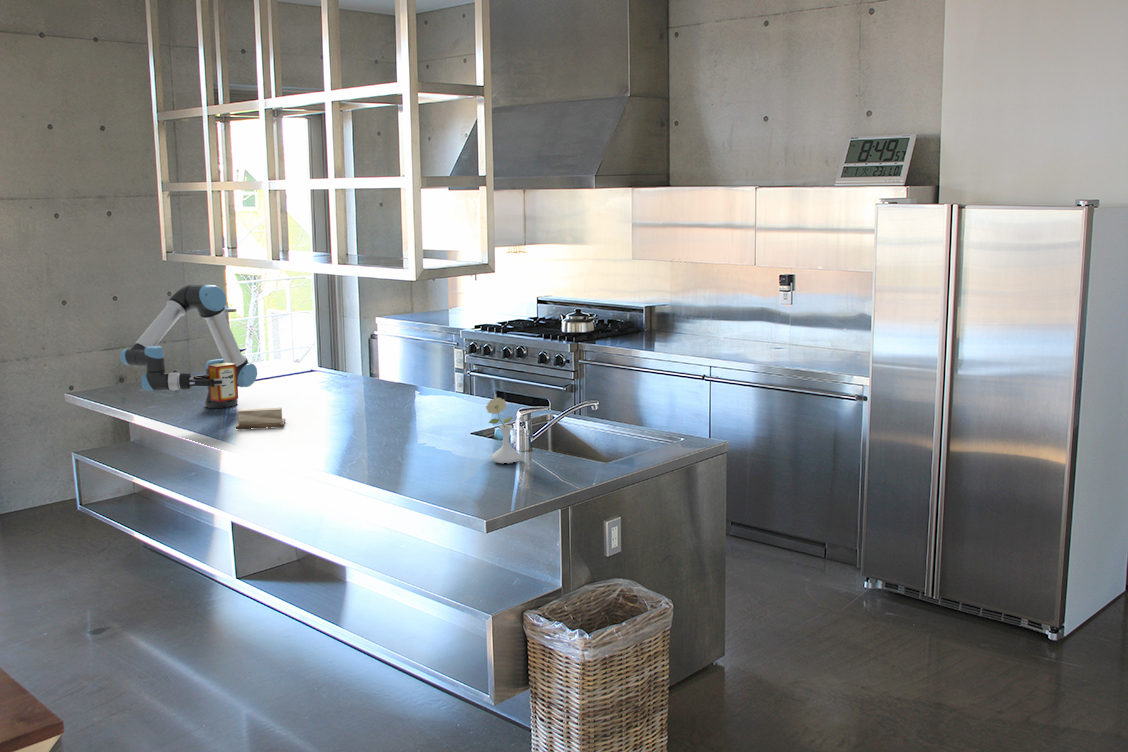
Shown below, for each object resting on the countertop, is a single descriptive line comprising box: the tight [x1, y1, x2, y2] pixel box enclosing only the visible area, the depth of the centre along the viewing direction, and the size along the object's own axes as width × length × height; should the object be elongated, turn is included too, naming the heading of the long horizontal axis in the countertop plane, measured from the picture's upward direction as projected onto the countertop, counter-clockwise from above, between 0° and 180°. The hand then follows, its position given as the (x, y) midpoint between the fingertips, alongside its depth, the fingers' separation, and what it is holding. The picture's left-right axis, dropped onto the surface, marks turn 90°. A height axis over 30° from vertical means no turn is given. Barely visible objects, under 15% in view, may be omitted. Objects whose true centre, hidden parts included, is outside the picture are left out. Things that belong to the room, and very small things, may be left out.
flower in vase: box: [485, 397, 522, 464], centre depth 354 cm, size 13×11×25 cm
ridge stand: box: [235, 407, 286, 430], centre depth 418 cm, size 12×20×8 cm, turn 102°
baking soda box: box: [208, 363, 239, 402], centre depth 416 cm, size 10×6×16 cm
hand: (232, 379), depth 416 cm, fingers closed on baking soda box, 11 cm apart
